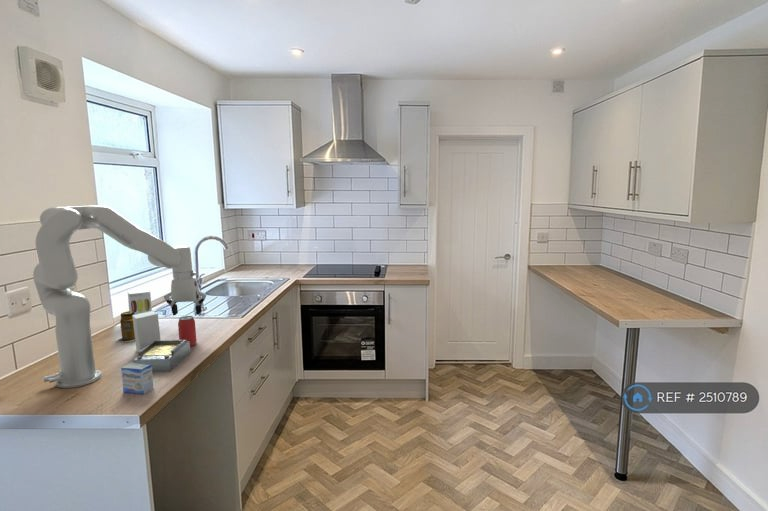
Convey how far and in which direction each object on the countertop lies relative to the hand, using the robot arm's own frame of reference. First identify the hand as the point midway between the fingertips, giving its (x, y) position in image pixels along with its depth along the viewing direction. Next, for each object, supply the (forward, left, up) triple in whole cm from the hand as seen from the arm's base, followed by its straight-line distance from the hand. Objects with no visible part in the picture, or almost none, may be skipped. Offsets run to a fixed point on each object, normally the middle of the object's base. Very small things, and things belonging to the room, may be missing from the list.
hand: (187, 314), depth 172 cm
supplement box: (-8, +47, -14) cm, 49 cm away
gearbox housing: (-14, -13, -14) cm, 23 cm away
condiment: (-18, +26, -14) cm, 34 cm away
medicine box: (-27, -32, -14) cm, 44 cm away
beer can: (-1, 0, -14) cm, 14 cm away
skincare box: (-15, +5, -14) cm, 21 cm away
